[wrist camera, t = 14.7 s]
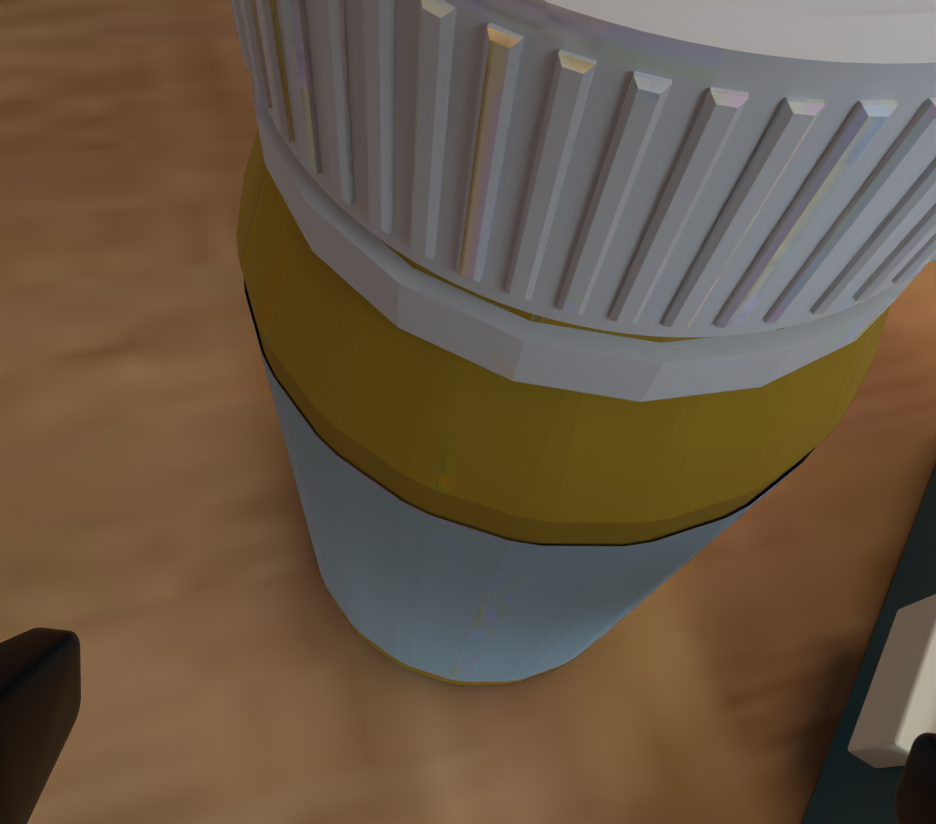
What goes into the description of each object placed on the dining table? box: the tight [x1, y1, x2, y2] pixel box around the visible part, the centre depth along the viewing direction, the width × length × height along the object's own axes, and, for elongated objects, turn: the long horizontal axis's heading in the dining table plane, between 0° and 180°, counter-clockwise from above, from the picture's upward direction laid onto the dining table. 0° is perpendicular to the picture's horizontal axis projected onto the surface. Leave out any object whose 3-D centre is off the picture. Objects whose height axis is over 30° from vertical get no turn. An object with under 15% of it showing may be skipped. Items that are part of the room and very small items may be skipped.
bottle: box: [231, 0, 936, 685], centre depth 11 cm, size 7×7×15 cm
